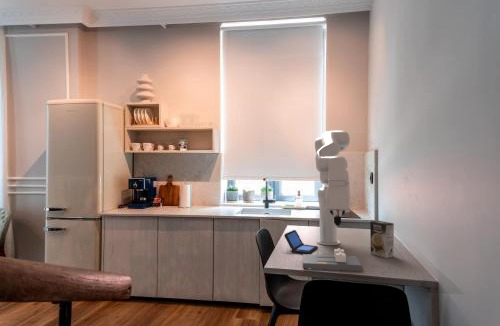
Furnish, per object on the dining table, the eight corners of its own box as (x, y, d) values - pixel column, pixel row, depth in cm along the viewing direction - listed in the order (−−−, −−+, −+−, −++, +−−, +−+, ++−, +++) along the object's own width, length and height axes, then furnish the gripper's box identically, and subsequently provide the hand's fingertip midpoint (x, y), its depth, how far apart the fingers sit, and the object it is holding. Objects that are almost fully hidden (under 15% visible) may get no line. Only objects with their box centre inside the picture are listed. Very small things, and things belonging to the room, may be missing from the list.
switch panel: (303, 259, 156) (303, 254, 156) (356, 261, 152) (356, 255, 152) (303, 268, 142) (302, 262, 142) (361, 271, 138) (361, 265, 138)
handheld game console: (308, 255, 164) (308, 236, 164) (283, 252, 170) (283, 234, 170) (318, 248, 177) (318, 231, 177) (295, 245, 184) (294, 229, 184)
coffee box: (369, 253, 165) (369, 221, 165) (378, 252, 168) (378, 220, 168) (385, 258, 157) (385, 224, 157) (394, 256, 160) (394, 222, 160)
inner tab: (334, 255, 152) (334, 247, 152) (343, 256, 151) (343, 248, 151) (334, 257, 149) (334, 249, 149) (344, 257, 148) (344, 249, 148)
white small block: (335, 260, 145) (335, 251, 145) (345, 260, 144) (344, 252, 144) (336, 262, 142) (336, 253, 142) (345, 262, 141) (345, 253, 141)
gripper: (353, 183, 151) (353, 224, 151) (319, 183, 154) (320, 223, 154) (355, 184, 144) (356, 227, 144) (320, 184, 147) (320, 226, 146)
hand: (337, 225), depth 149 cm, fingers closed
